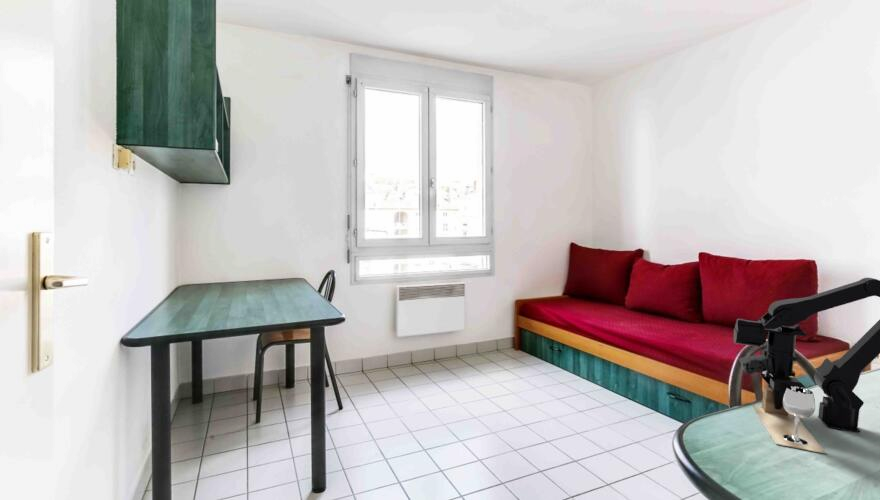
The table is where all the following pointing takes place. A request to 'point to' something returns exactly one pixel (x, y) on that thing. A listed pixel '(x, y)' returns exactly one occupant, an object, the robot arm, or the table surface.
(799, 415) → the wineglass
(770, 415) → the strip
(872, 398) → the table surface
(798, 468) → the table surface
